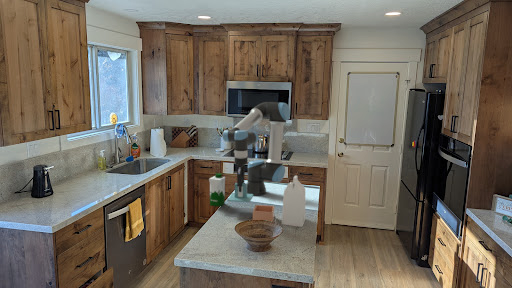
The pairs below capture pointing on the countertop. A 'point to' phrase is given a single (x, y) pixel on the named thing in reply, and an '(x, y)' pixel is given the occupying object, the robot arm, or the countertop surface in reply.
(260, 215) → the pot
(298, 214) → the milk
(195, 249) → the countertop surface
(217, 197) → the milk carton
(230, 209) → the mat
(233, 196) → the lid
